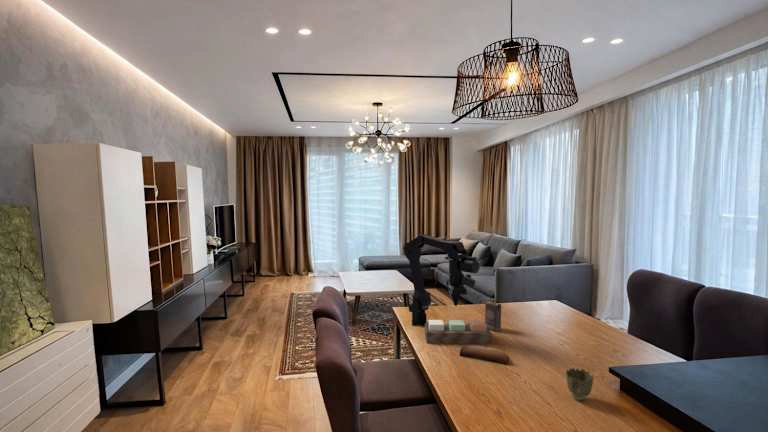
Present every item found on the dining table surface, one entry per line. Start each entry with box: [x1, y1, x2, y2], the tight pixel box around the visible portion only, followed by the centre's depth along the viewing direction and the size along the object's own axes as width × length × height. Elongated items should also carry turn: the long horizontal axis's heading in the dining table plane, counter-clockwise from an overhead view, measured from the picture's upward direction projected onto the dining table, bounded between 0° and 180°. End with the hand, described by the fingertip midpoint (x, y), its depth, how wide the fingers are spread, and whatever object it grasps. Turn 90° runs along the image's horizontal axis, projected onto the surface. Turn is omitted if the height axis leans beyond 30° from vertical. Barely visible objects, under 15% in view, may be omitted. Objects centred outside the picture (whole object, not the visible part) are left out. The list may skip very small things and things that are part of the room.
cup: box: [565, 367, 595, 402], centre depth 112 cm, size 8×7×8 cm
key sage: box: [448, 319, 466, 331], centre depth 159 cm, size 6×6×4 cm
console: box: [424, 322, 492, 345], centre depth 159 cm, size 27×11×4 cm, turn 88°
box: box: [484, 301, 502, 332], centre depth 170 cm, size 6×4×12 cm
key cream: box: [428, 319, 445, 331], centre depth 159 cm, size 6×6×4 cm
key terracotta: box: [469, 319, 487, 331], centre depth 158 cm, size 6×6×4 cm
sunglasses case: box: [459, 344, 510, 365], centre depth 141 cm, size 18×7×7 cm
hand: (455, 305), depth 161 cm, fingers closed
